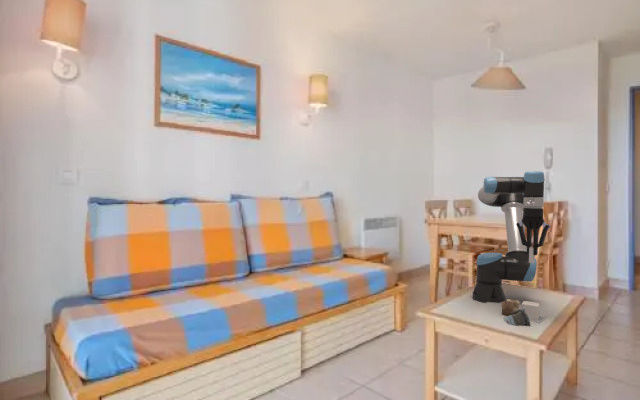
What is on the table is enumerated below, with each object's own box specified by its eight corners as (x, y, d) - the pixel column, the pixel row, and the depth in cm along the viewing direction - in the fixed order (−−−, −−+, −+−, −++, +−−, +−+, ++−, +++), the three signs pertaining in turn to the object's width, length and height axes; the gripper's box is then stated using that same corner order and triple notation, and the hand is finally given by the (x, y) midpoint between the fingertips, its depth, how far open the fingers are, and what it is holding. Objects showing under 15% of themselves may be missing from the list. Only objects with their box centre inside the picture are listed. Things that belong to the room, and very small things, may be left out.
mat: (513, 318, 159) (513, 317, 159) (521, 313, 166) (521, 311, 166) (539, 324, 152) (539, 323, 152) (547, 319, 159) (547, 317, 159)
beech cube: (506, 312, 167) (506, 301, 167) (506, 309, 172) (507, 299, 171) (518, 314, 165) (519, 303, 165) (518, 311, 169) (519, 300, 169)
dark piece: (495, 318, 160) (503, 306, 152) (510, 313, 161) (518, 300, 152) (509, 339, 154) (518, 327, 145) (524, 333, 155) (534, 321, 146)
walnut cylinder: (500, 316, 162) (500, 302, 162) (503, 313, 165) (504, 300, 165) (510, 318, 159) (511, 304, 159) (514, 316, 162) (514, 302, 162)
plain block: (521, 317, 159) (521, 303, 158) (523, 314, 163) (523, 300, 163) (537, 320, 155) (538, 306, 155) (539, 316, 160) (539, 303, 160)
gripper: (513, 207, 160) (512, 261, 161) (548, 208, 151) (546, 266, 151) (519, 206, 165) (518, 259, 166) (553, 207, 156) (551, 263, 156)
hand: (531, 262), depth 159 cm, fingers closed
